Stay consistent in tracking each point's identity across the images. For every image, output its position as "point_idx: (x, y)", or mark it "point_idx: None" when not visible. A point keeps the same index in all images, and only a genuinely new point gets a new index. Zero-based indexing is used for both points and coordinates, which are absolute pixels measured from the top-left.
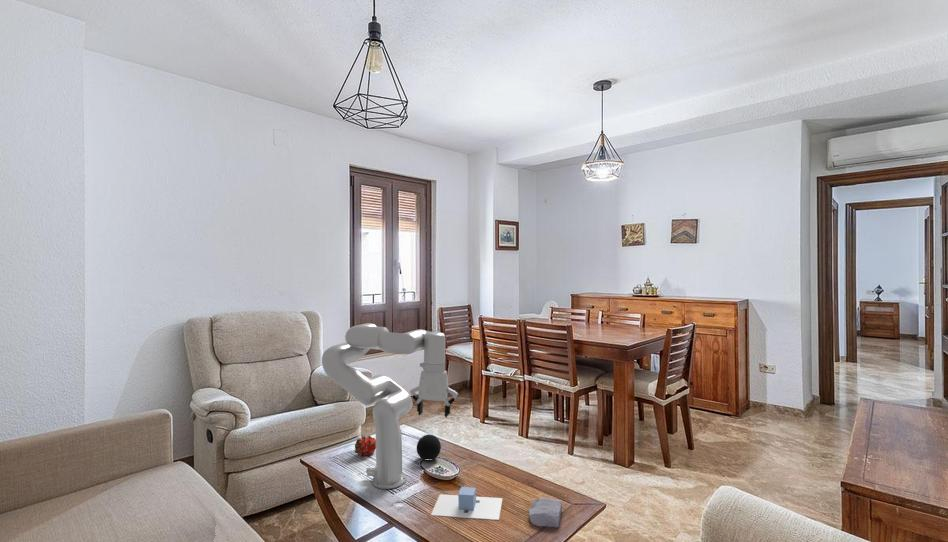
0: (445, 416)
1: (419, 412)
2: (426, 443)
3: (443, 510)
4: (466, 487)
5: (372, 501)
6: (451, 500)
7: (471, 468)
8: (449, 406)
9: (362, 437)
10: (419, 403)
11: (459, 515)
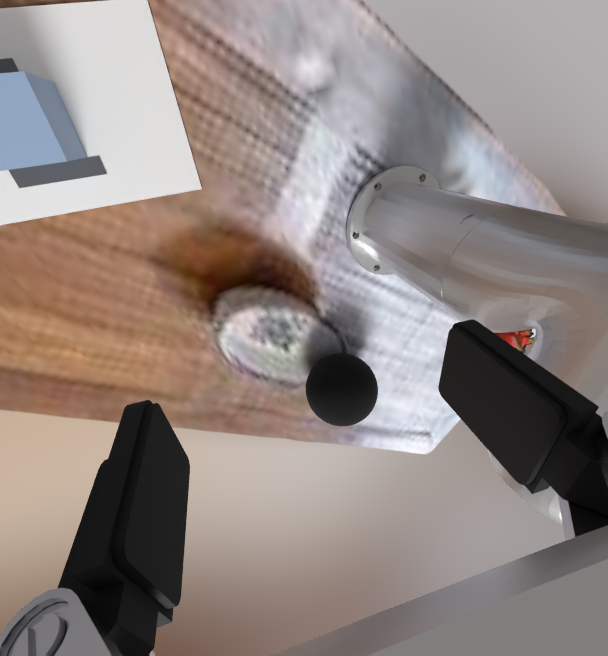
0: (142, 405)
1: (480, 335)
2: (348, 385)
3: (114, 56)
4: (37, 162)
5: (408, 69)
6: (133, 155)
7: (192, 372)
8: (74, 586)
9: (524, 352)
10: (579, 431)
11: (11, 22)
